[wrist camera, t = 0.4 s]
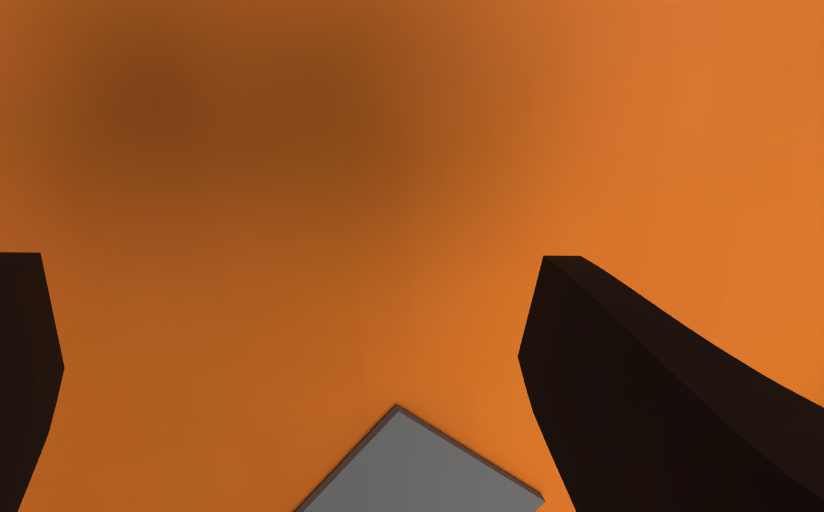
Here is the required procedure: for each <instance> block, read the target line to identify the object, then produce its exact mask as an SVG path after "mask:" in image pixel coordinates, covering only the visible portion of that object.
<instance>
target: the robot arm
mask: <svg viewBox="0 0 824 512" xmlns="http://www.w3.org/2000/svg"><path fill="white" fill-rule="evenodd" d="M518 359H519V363H520V367H521V371H522V375H523V378H524V382H525V386H526V390H527V393H528V396H529V400H530V403H531V406H532V410H533V413H534V415H535V418H536V420H537V423H538V425H539V427H540V430H541V432H542V434H543V437H544V439H545V441H546V444H547V446H548V448H549V451H550V453H551V455H552V458H553V460H554V462H555V464H556V467H557V469H558V471H559V473H560V476H561V478H562V480H563V482H564V485H565V487H566V489H567V491H568V494H569V496H570V498H571V501H572V503H573V505H574V507H575V510H576V512H824V408H823V407H821V406H819V405H817V404H816V403H814V402H812V401H810V400H808V399H806V398H804V397H802V396H800V395H799V394H797V393H795V392H793V391H791V390H789V389H787V388H785V387H784V386H782V385H780V384H778V383H776V382H775V381H773V380H771V379H769V378H768V377H766V376H764V375H762V374H761V373H759V372H757V371H756V370H754V369H752V368H751V367H749V366H748V365H746V364H744V363H743V362H741V361H739V360H738V359H736V358H735V357H733V356H731V355H730V354H728V353H726V352H725V351H723V350H722V349H720V348H718V347H717V346H715V345H714V344H712V343H711V342H709V341H707V340H706V339H704V338H703V337H701V336H700V335H698V334H697V333H695V332H694V331H692V330H691V329H689V328H688V327H686V326H685V325H683V324H682V323H680V322H679V321H677V320H676V319H674V318H673V317H671V316H670V315H669V314H667V313H666V312H664V311H663V310H661V309H660V308H658V307H657V306H655V305H654V304H653V303H651V302H650V301H648V300H647V299H645V298H644V297H642V296H641V295H640V294H638V293H637V292H635V291H634V290H632V289H631V288H629V287H628V286H627V285H625V284H624V283H622V282H621V281H619V280H618V279H616V278H615V277H613V276H612V275H610V274H609V273H607V272H606V271H604V270H603V269H601V268H600V267H598V266H597V265H595V264H593V263H592V262H590V261H588V260H586V259H585V258H583V257H581V256H543V260H542V264H541V267H540V271H539V275H538V279H537V283H536V287H535V291H534V295H533V299H532V303H531V307H530V311H529V314H528V318H527V322H526V326H525V330H524V334H523V338H522V342H521V346H520V350H519V354H518ZM63 372H64V363H63V359H62V354H61V349H60V344H59V339H58V335H57V330H56V325H55V320H54V316H53V311H52V306H51V301H50V296H49V292H48V287H47V282H46V277H45V273H44V268H43V263H42V258H41V253H14V252H0V512H18V509H19V507H20V504H21V502H22V499H23V497H24V494H25V492H26V489H27V487H28V484H29V482H30V479H31V477H32V474H33V472H34V469H35V467H36V464H37V462H38V459H39V457H40V454H41V451H42V449H43V446H44V444H45V441H46V438H47V436H48V433H49V430H50V426H51V422H52V418H53V414H54V410H55V406H56V402H57V398H58V394H59V389H60V385H61V381H62V376H63Z"/></svg>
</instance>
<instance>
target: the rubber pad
mask: <svg viewBox="0 0 824 512" xmlns="http://www.w3.org/2000/svg"><path fill="white" fill-rule="evenodd" d="M544 503H545V500H544V498H543V496H542V494H540V493H538V492H537V491H535V490H534V489H532V488H530V487H529V486H527V485H525V484H524V483H522V482H521V481H519V480H517V479H516V478H514V477H513V476H511V475H509V474H508V473H506V472H504V471H503V470H501V469H500V468H498V467H496V466H495V465H493V464H492V463H490V462H488V461H487V460H485V459H483V458H482V457H480V456H479V455H477V454H475V453H474V452H472V451H471V450H469V449H467V448H466V447H464V446H462V445H461V444H459V443H458V442H456V441H454V440H453V439H451V438H450V437H448V436H446V435H445V434H443V433H441V432H440V431H438V430H437V429H435V428H433V427H432V426H430V425H429V424H427V423H425V422H424V421H422V420H420V419H419V418H417V417H416V416H414V415H412V414H411V413H409V412H408V411H406V410H404V409H403V408H401V407H399V406H398V405H396V406H395V407H394V408H393V409H392V410H391V411H390V412H389V413H388V414H387V415H386V416H385V417H384V418H383V419H382V420H381V421H380V422H379V423H378V425H377V426H376V427H375V428H374V429H373V430H372V431H371V432H370V433H369V434H368V435H367V436H366V437H365V438H364V439H363V440H362V441H361V443H360V444H359V445H358V446H357V447H356V448H355V449H354V450H353V451H352V452H351V453H350V454H349V455H348V456H347V457H346V458H345V459H344V460H343V462H342V463H341V464H340V465H339V466H338V467H337V468H336V469H335V470H334V471H333V472H332V473H331V474H330V475H329V476H328V477H327V478H326V479H325V481H324V482H323V483H322V484H321V485H320V486H319V487H318V488H317V489H316V490H315V491H314V492H313V493H312V494H311V495H310V496H309V497H308V499H307V500H306V501H305V502H304V503H303V504H302V505H301V506H300V507H299V508H298V509H297V510H296V511H295V512H535V511H536V510H537V509H538V508H539V507H540V506H541V505H543V504H544Z"/></svg>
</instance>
